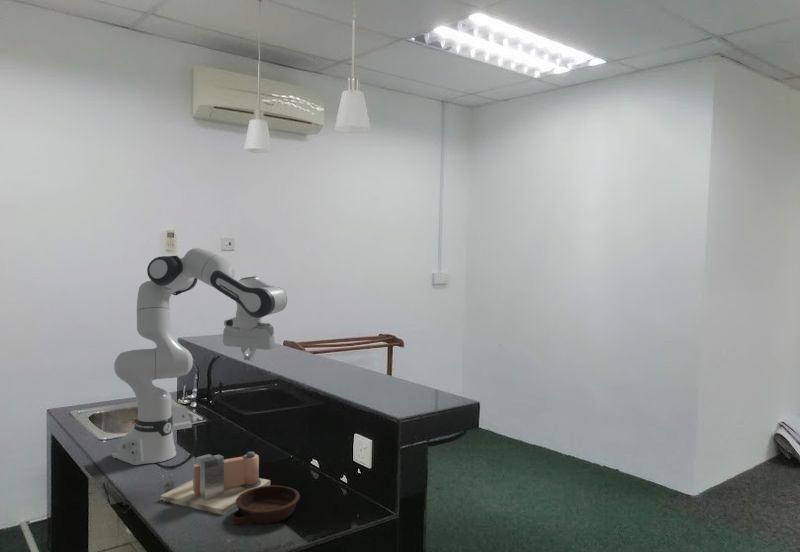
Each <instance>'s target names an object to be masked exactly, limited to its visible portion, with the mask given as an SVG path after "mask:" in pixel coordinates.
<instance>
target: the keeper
mask: <svg viewBox="0 0 800 552" xmlns="http://www.w3.org/2000/svg"><path fill="white" fill-rule="evenodd" d="M224 458H225V457H224V456H223V455H221V454H216V455H215V454H214V455H212V454H210V453H208V454H204V455H200V456H196V464H198V465H199V466H200V498H202V499H203V500H209V499H212V498H215V497H218V496H221V495H224Z"/></svg>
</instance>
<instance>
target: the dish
mask: <svg viewBox="0 0 800 552" xmlns="http://www.w3.org/2000/svg"><path fill="white" fill-rule="evenodd" d="M300 497H301V495H300V493H299V492H298V490H297V489H294V488H292V487H289V486H283V485H277V484H276V485H275V484H274V485H270V486H261V487H257V488H253V489H250V490H248V491H246V492H244V493H242V494H241V495H239V496H238V497H237V499H236V505H237V506H236V507H237V508H238V509H237V510H235V512H234V513H232V515H231V516H232V517H231V520H232V523H234V524H239V525H240V524H246V523H251V524H258V525H270V524H273V523H274V524H275V523H278V522H281V521H283V520H286V519H287V518H289V517H290V516H291V515H292V514H293V512H294V511H295V508H296V506H297V503H298V502H299V500H300Z"/></svg>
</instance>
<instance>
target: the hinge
mask: <svg viewBox="0 0 800 552" xmlns="http://www.w3.org/2000/svg"><path fill="white" fill-rule="evenodd" d="M171 415H172V416H173V426H172V430H173V431H177V430H178V431H179V430H185V429H191V428H193V424H192V421H191V416H190V414H189V408H188V407H184V406H178V405H177V406H176V405H175V406H172V405H171Z"/></svg>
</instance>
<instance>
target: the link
mask: <svg viewBox="0 0 800 552" xmlns="http://www.w3.org/2000/svg"><path fill="white" fill-rule="evenodd" d="M259 456H260V455H258V454H257V453H255V452H254V451H247V452H246V454H244V455H242V456H238V457H237V456H236V457H231V458H225V459H224V488H229V487H234V486H239V485H244V484H245V485H253V484H256V483H258V482H259V478H260V475H259V474H260V472H259V470H260V468H259V467H260V465H259V464H260V462H259V461H260V457H259ZM192 479H193V491H194V493H195V494H197V493H200V466H199V465H198V464H197V463H195V464H192Z"/></svg>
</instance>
